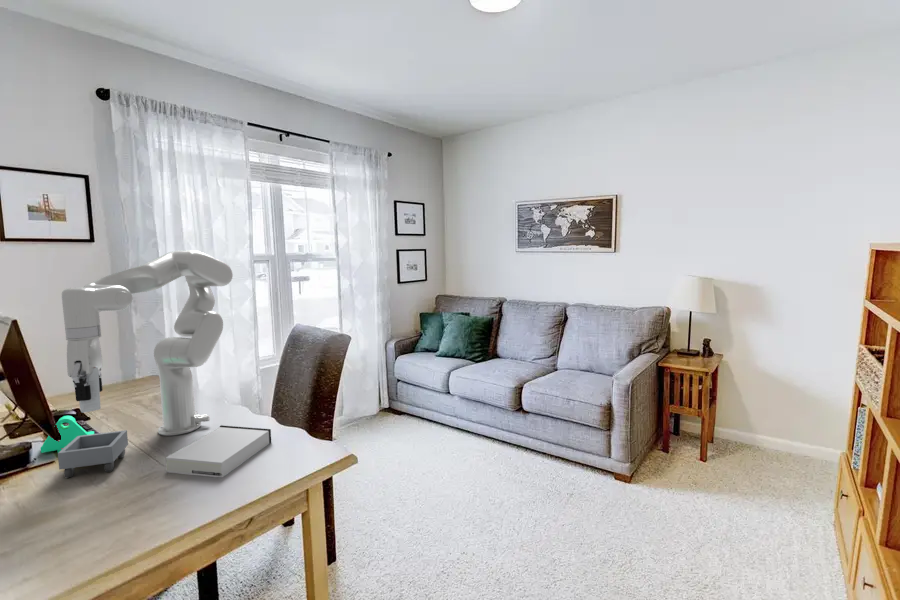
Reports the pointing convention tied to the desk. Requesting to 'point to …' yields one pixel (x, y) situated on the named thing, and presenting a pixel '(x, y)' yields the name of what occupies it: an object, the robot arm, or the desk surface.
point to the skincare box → (92, 393)
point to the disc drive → (218, 451)
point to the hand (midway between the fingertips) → (89, 395)
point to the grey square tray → (93, 451)
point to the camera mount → (64, 434)
